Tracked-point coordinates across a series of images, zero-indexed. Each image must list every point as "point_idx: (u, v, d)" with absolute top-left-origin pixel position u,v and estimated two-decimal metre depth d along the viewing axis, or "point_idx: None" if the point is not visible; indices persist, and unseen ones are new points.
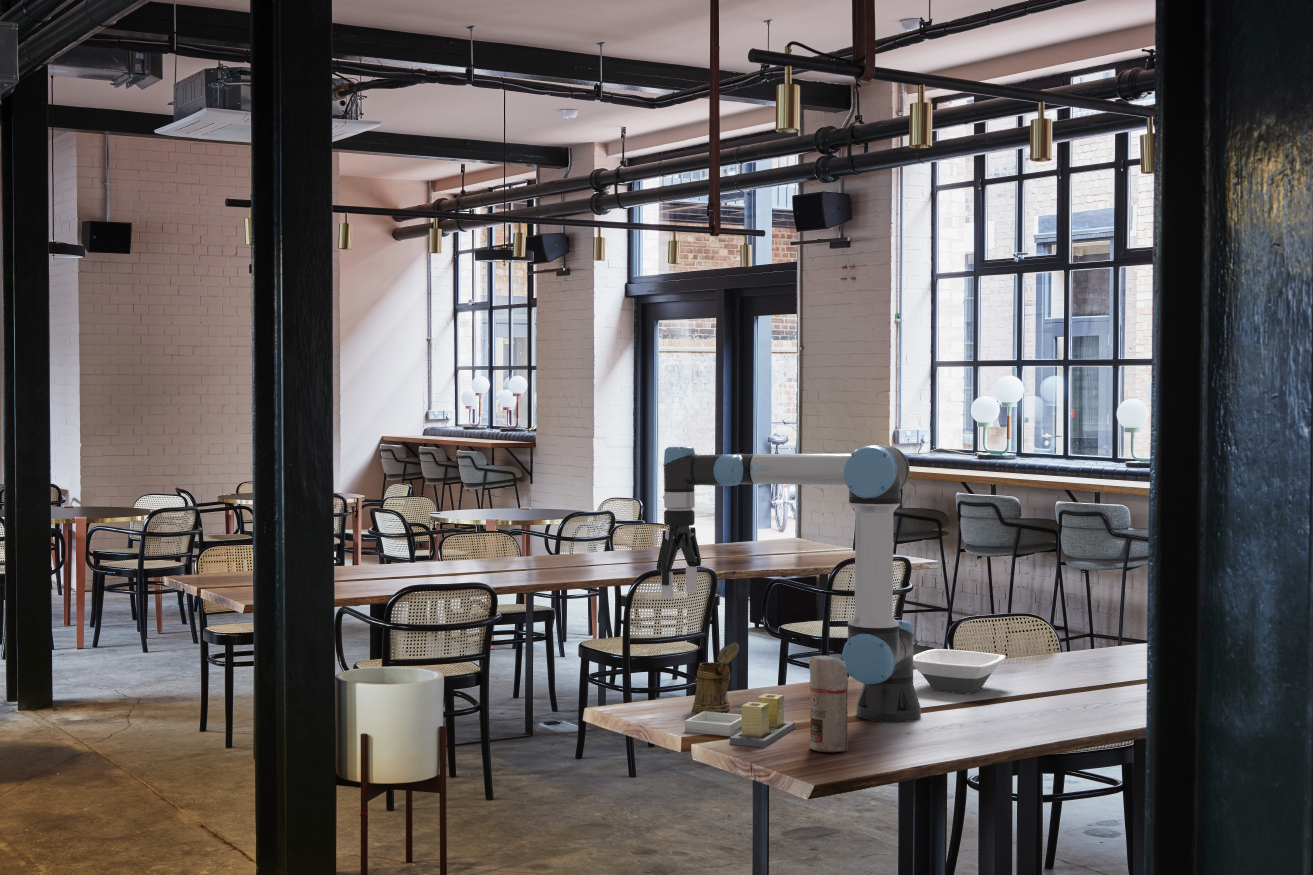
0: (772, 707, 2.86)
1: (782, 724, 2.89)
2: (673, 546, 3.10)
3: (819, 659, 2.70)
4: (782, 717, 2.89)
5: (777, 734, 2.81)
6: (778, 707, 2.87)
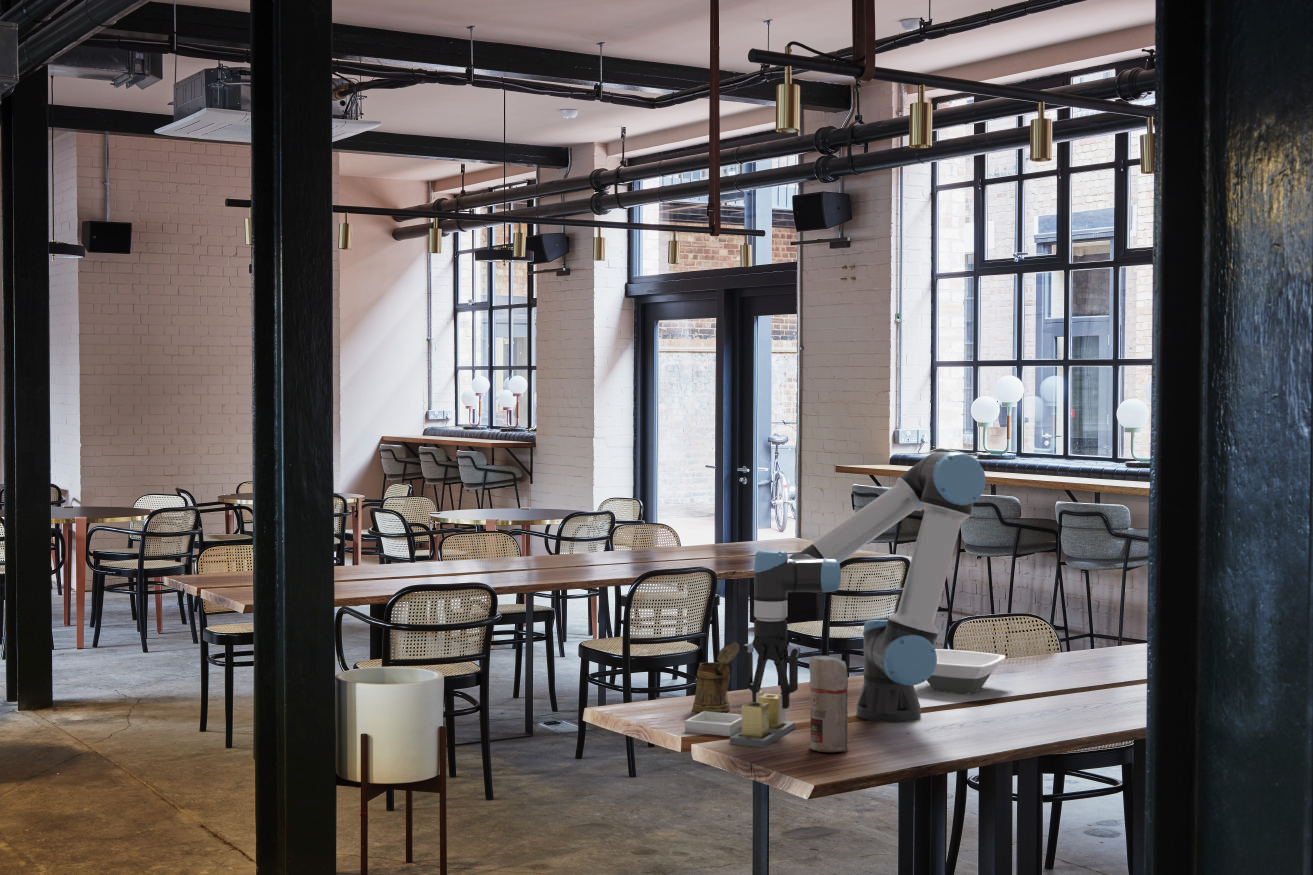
0: (772, 707, 2.86)
1: (782, 724, 2.89)
2: None
3: (819, 659, 2.70)
4: None
5: (777, 734, 2.81)
6: None
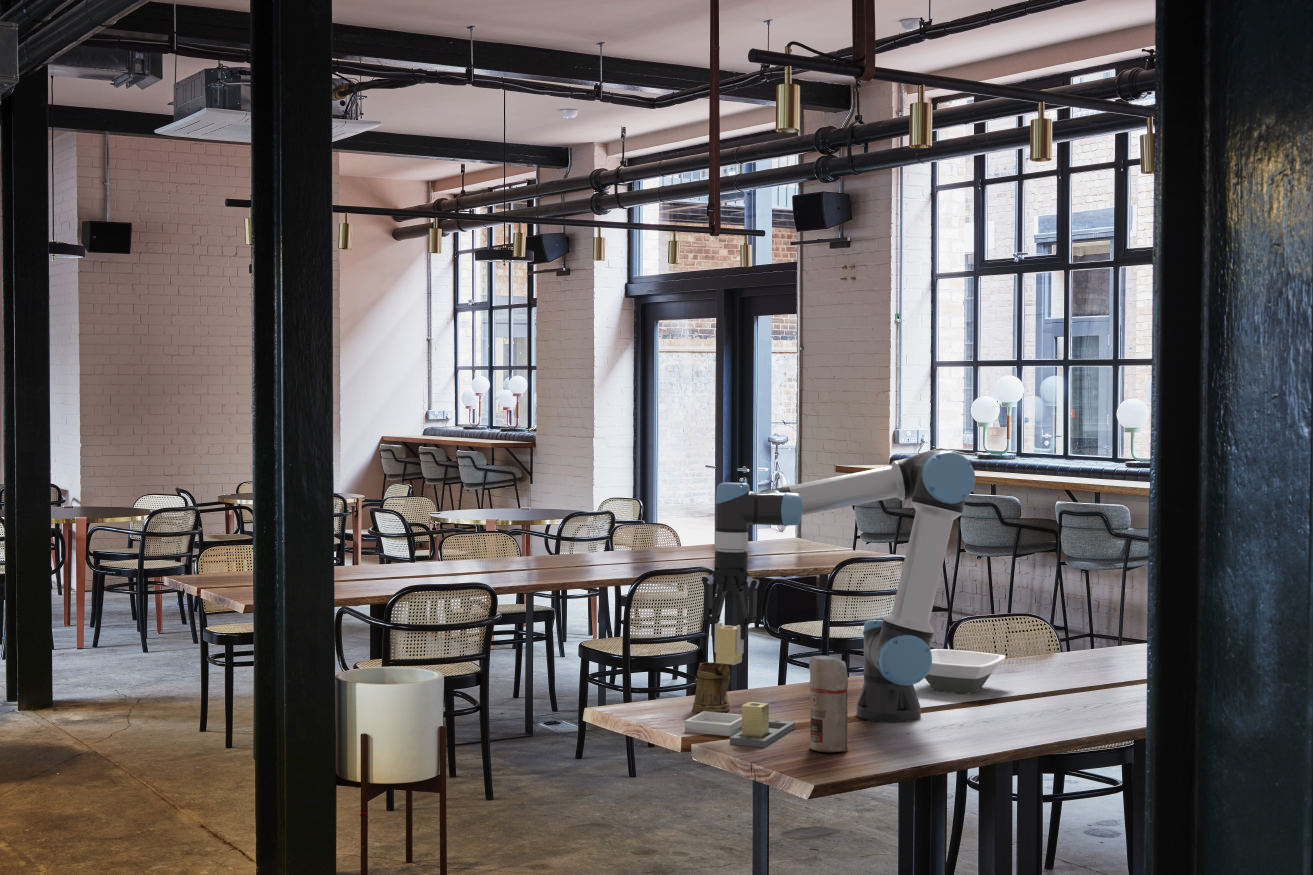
0: (730, 637, 2.88)
1: (740, 655, 2.91)
2: None
3: (819, 659, 2.70)
4: None
5: (777, 734, 2.81)
6: None
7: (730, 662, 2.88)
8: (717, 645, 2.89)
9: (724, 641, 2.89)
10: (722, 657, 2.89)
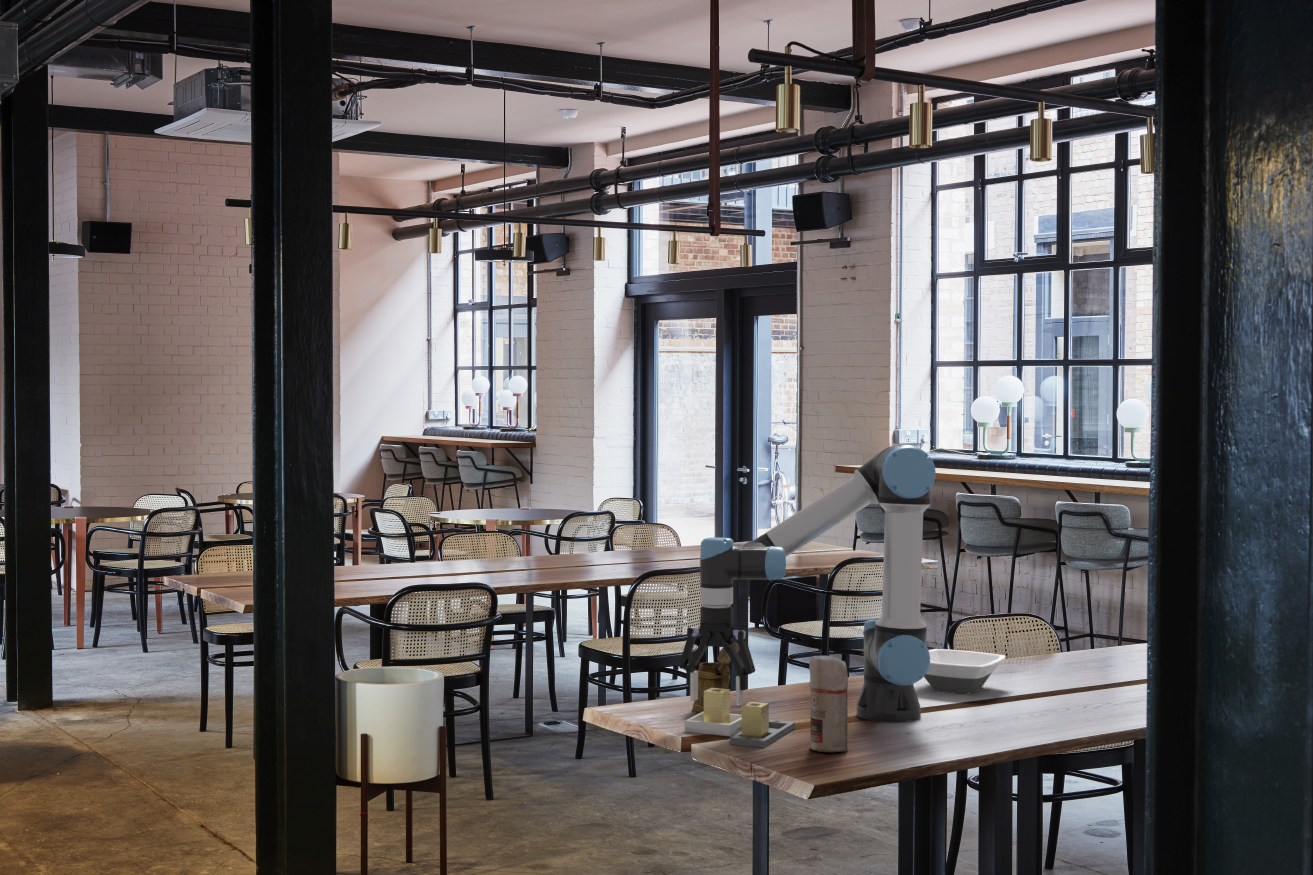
0: (717, 701, 2.89)
1: (728, 718, 2.92)
2: None
3: (819, 659, 2.70)
4: (728, 711, 2.92)
5: (777, 734, 2.81)
6: (724, 701, 2.89)
7: None
8: (705, 709, 2.90)
9: (712, 705, 2.89)
10: (710, 720, 2.90)
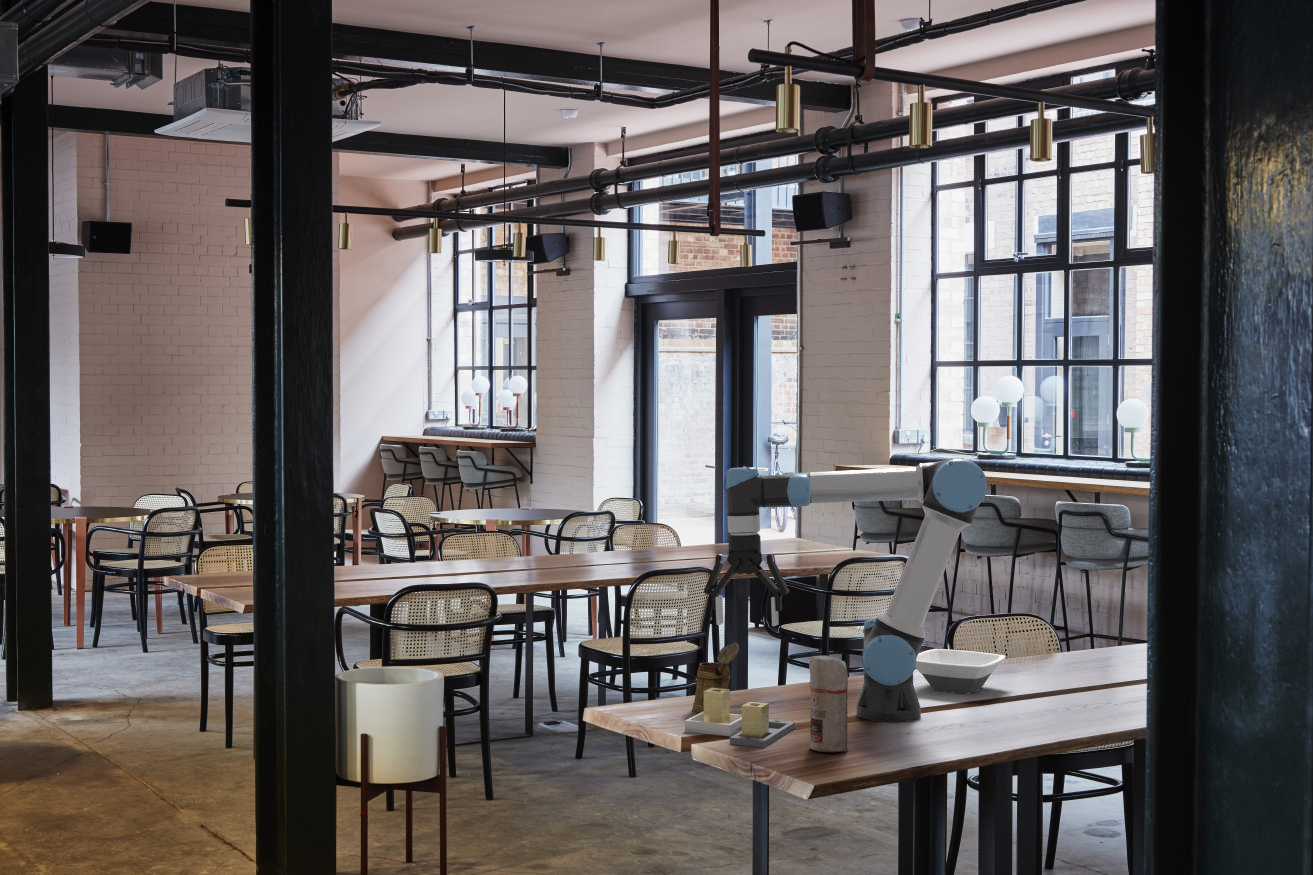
0: (717, 701, 2.89)
1: (728, 718, 2.92)
2: None
3: (819, 659, 2.70)
4: (728, 711, 2.92)
5: (777, 734, 2.81)
6: (724, 701, 2.89)
7: None
8: (705, 709, 2.90)
9: (712, 705, 2.89)
10: (710, 720, 2.90)
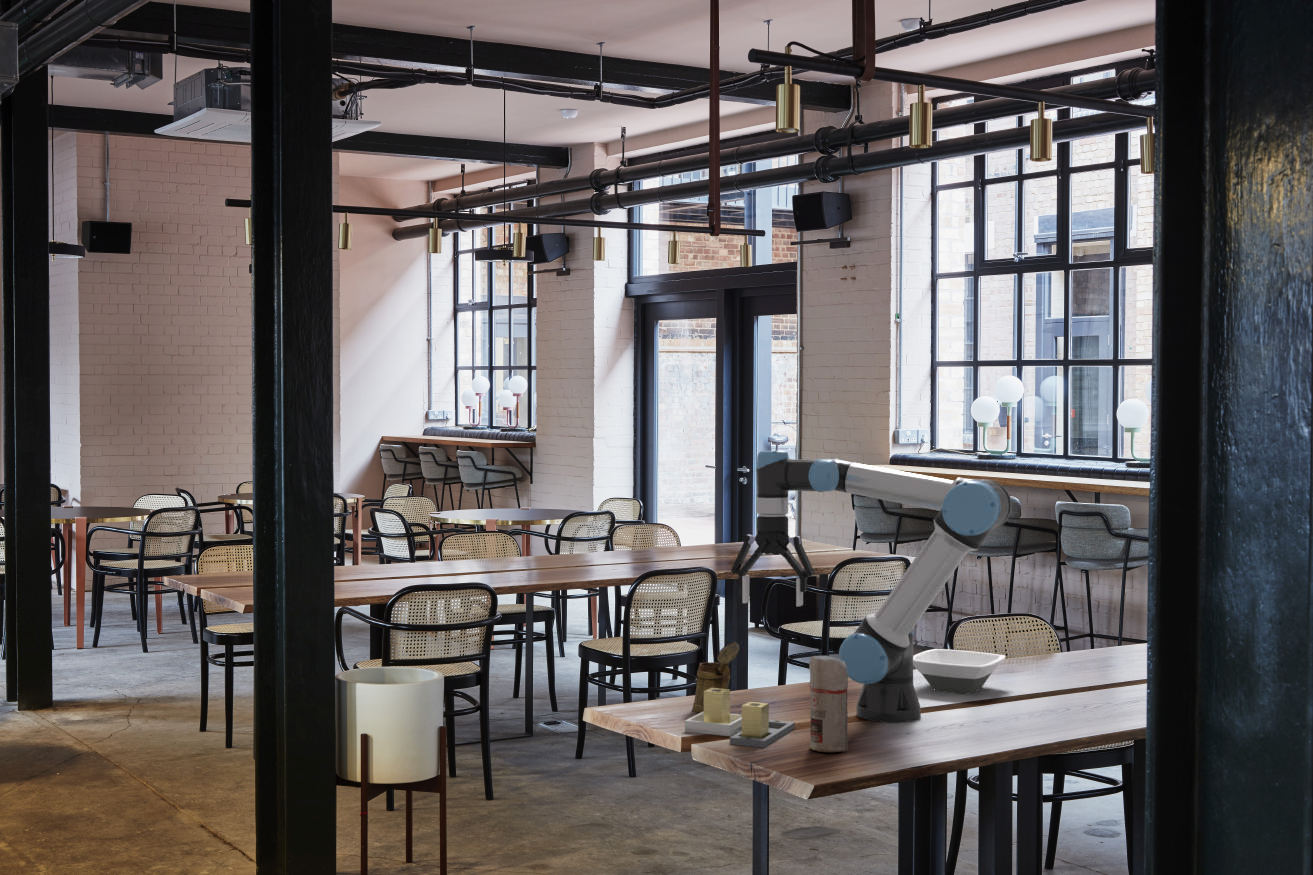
0: (717, 701, 2.89)
1: (728, 718, 2.92)
2: None
3: (819, 659, 2.70)
4: (728, 711, 2.92)
5: (777, 734, 2.81)
6: (724, 701, 2.89)
7: None
8: (705, 709, 2.90)
9: (712, 705, 2.89)
10: (710, 720, 2.90)
